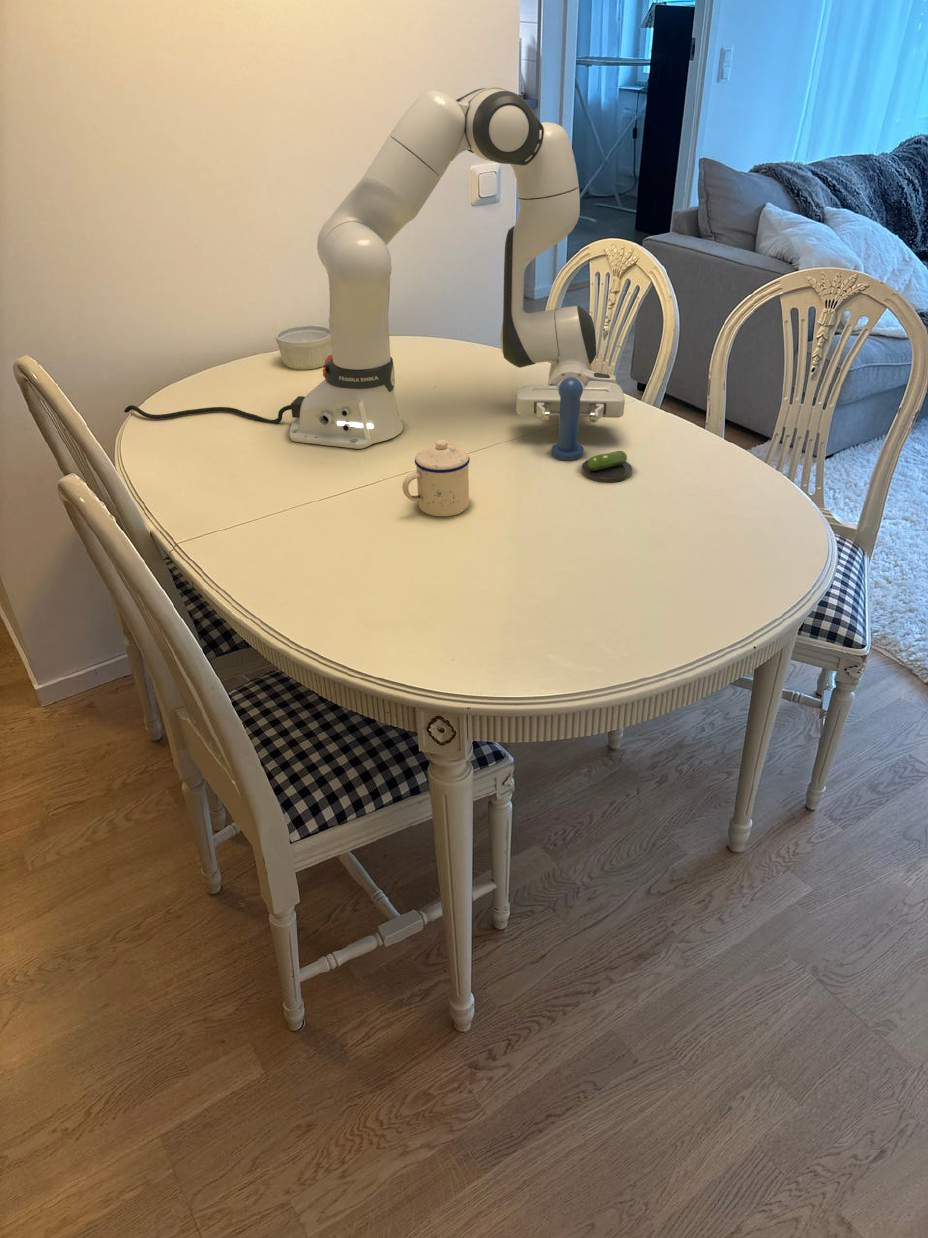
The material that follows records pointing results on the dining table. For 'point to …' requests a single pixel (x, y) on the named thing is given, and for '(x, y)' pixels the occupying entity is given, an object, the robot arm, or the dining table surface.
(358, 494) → the dining table surface
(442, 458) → the teacup with lid
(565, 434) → the blue handle
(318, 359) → the ramekin
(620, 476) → the pickle
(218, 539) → the dining table surface
